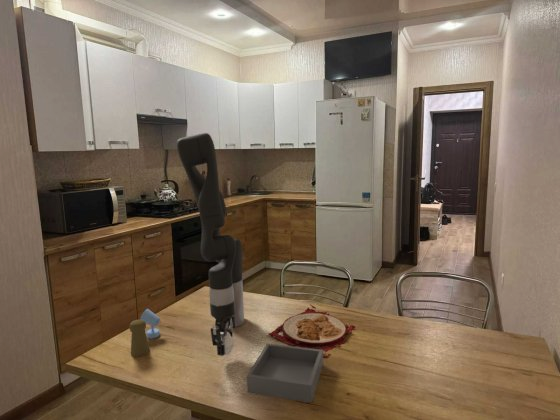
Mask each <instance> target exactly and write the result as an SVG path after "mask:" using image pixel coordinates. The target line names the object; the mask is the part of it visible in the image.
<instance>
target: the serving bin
mask: <svg viewBox="0 0 560 420" xmlns="http://www.w3.org/2000/svg"><path fill="white" fill-rule="evenodd" d="M293 346H294V345H293ZM293 346H292V345H285V344H274V343H269V342H268V343H266V344H265V346H264V347H263V349H262V351H261V352H260V353H259V356H258V357H257V358H256V360H255V362H254V363H253V365H252V366H251V368H250V370H249V372H248V373H247V374H246V390H247V391H246V392H247V394H252V395H253V394H254V395H259V396H265V397H266V396H267V397H274V398H279V399H285V400H291V401H297V402H298V401H299V402H303V403H304V402H305V403H313V399H314V398H315V397H314V396H315V394H316V393H315V392H316V389H317V387H318V384H319V380H320V376H321V374H322V371H323V366H324V356H323V355H324V351H323V350H320V348H319V349H315V348H302V347H300V346H295V347H293Z"/></svg>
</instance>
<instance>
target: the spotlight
mask: <svg viewBox="0 0 560 420" xmlns="http://www.w3.org/2000/svg"><path fill="white" fill-rule="evenodd" d="M139 319H141V320H144V321H145V322H146V324H148V325H150V329H148V330H146V331H145V332H146V336H147V339H155V338H158V337H159V336H160V329H159V328H154V326H155V327H156V326H158V324H159V323H160V321H161V318H160V317H159V316H157V314H155V313H154V312H153V311H152V310H150V309H149V308H146V309H145V310H144V311H143V312H142V314H141V316H140V318H139Z"/></svg>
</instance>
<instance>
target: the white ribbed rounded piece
mask: <svg viewBox="0 0 560 420" xmlns="http://www.w3.org/2000/svg"><path fill="white" fill-rule="evenodd" d="M223 333H224V332H220V334H223ZM221 341H222V337H221ZM235 343H236V340H235V338H234V337H231V335H230V333H229V332H227V335H226V337H225V339H224V347H225V354H224V356H227V355H230V354H231V352H232V350H233V349H234V346H235ZM215 347H216V348H217V346H215Z"/></svg>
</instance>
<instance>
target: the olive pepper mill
mask: <svg viewBox="0 0 560 420" xmlns="http://www.w3.org/2000/svg"><path fill="white" fill-rule="evenodd" d="M146 329H147V323H146V322H145V321H144V320H141V319H140V318H139V319H135V320H132V321H131V322H130V324H129V330H130V332H131V339H130V340H131V341H130V355H131V356H132V357H135V358H136V357H142V356H145V355H147V354H148V353H150V350H151V349H150V345H149V341H148V338H147V334H146V332H147V331H146Z"/></svg>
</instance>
